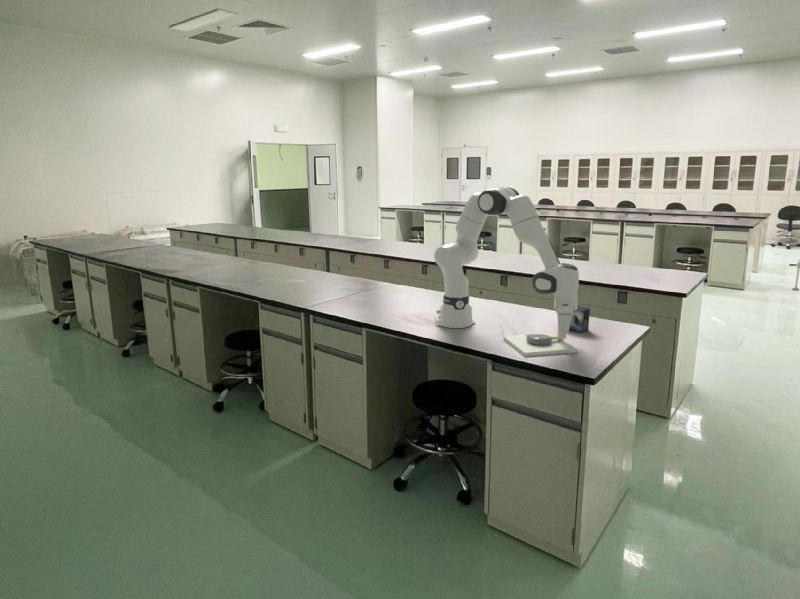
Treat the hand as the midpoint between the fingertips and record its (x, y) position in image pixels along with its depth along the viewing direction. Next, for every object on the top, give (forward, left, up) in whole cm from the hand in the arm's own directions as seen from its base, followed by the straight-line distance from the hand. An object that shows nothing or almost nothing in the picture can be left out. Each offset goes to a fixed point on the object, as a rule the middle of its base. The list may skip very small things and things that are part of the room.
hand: (563, 337), depth 210 cm
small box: (-23, +18, -5) cm, 29 cm away
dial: (-5, -5, -2) cm, 8 cm away
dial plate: (-5, -8, -4) cm, 11 cm away
